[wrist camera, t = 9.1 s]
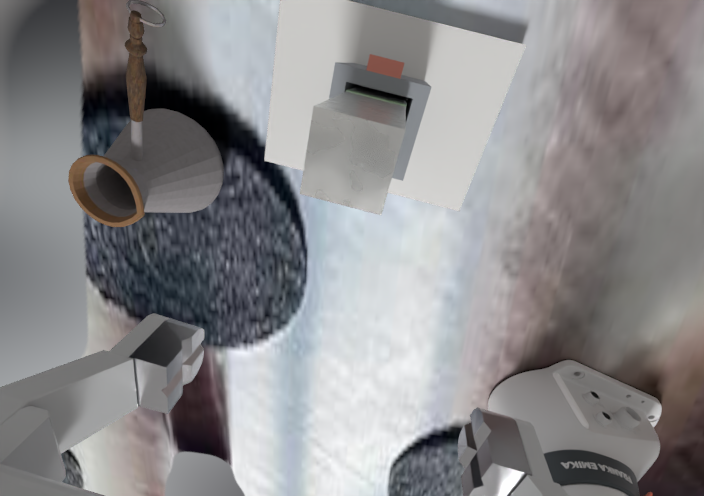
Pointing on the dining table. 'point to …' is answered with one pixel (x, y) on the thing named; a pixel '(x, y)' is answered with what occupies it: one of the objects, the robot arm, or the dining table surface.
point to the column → (354, 148)
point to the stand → (392, 88)
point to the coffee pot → (148, 155)
